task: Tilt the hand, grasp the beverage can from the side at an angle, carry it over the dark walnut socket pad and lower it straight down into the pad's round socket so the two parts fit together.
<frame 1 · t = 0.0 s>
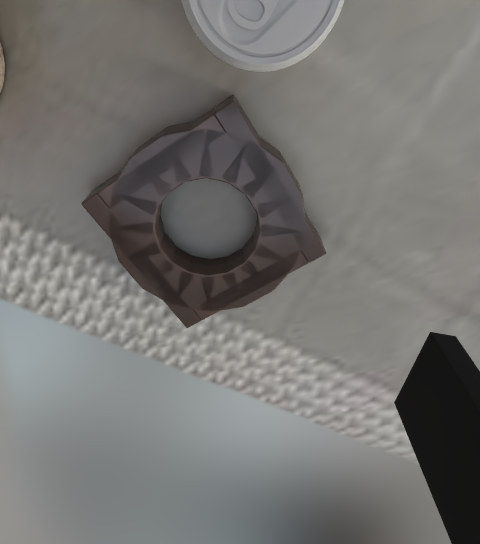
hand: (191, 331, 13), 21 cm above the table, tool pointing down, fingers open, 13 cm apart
socket pad: (209, 215, 33), on the table
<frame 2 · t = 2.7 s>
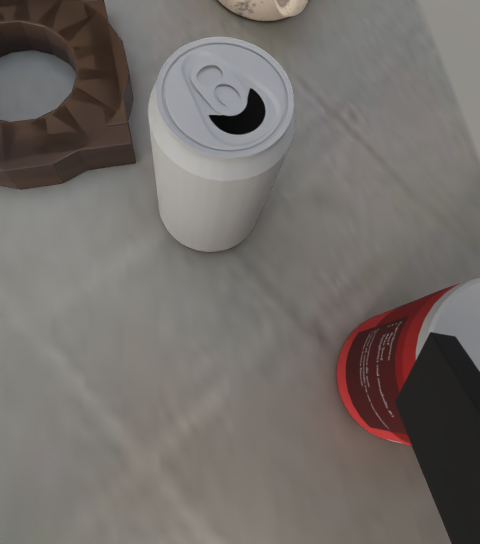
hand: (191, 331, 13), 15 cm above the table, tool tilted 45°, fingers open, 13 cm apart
beverage can: (208, 210, 30), on the table
canned food: (391, 375, 29), on the table
socket pad: (29, 95, 30), on the table
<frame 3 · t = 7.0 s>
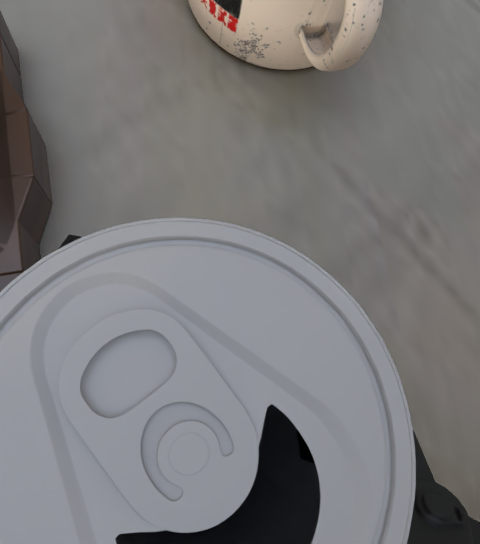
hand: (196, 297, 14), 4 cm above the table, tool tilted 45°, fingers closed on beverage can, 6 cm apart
beverage can: (174, 412, 17), on the table, touching gripper
teacup with lid: (279, 26, 22), on the table
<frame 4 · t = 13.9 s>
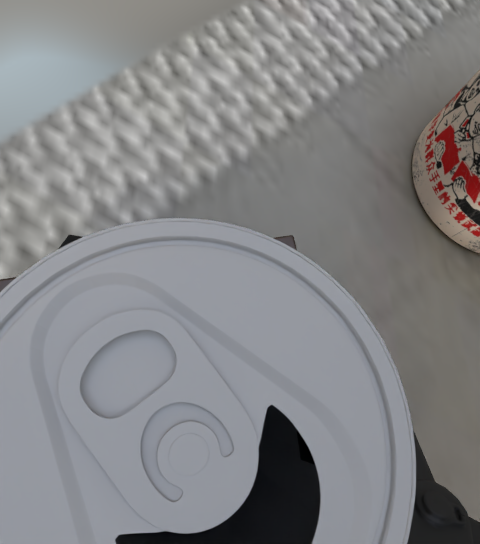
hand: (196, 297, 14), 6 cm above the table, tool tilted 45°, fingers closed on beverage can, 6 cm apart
beverage can: (174, 413, 17), point 2 cm above the table, touching gripper
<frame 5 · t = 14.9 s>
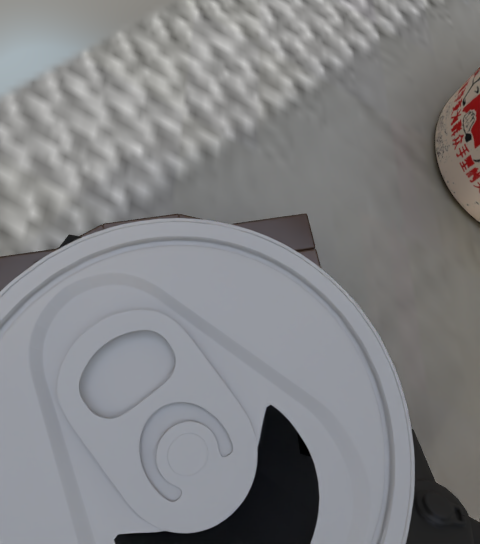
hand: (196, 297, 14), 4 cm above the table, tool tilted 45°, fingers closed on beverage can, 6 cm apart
beverage can: (174, 413, 17), resting in socket pad, touching gripper
socket pad: (172, 411, 17), on the table
when the fingers open (5 cm above the table, at t = 20.9 s): beverage can drops 1 cm, resting in socket pad.
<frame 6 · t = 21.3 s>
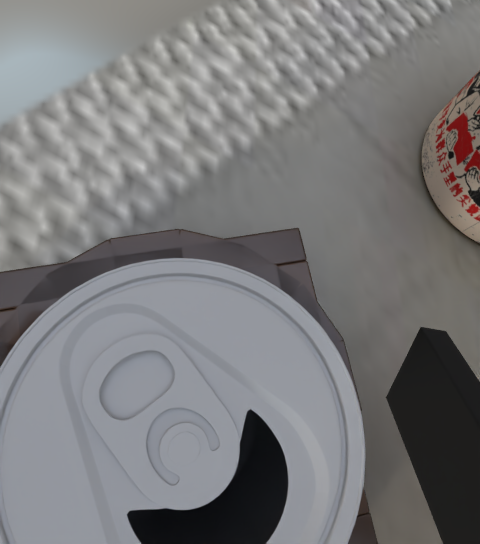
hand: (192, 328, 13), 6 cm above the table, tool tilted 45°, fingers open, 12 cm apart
beverage can: (174, 413, 18), resting in socket pad
socket pad: (174, 411, 18), on the table
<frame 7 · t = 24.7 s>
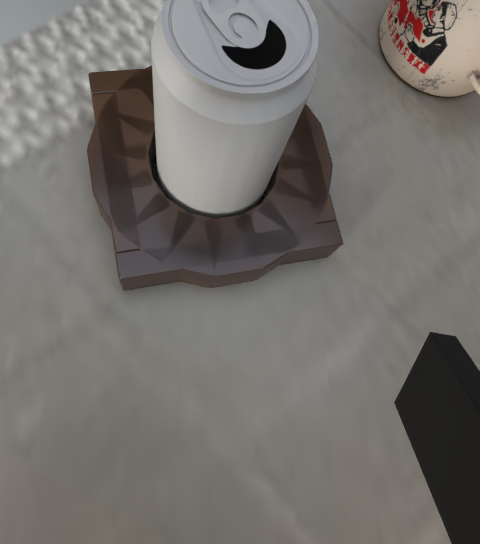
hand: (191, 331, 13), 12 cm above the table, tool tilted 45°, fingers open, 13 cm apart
beverage can: (210, 180, 27), resting in socket pad
socket pad: (210, 178, 27), on the table
teacup with lid: (438, 66, 33), on the table
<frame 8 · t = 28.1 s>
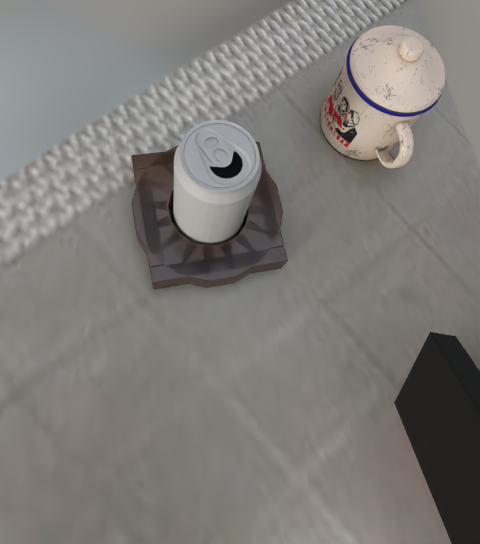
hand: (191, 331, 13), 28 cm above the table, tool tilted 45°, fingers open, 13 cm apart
beverage can: (206, 219, 43), resting in socket pad
socket pad: (206, 218, 43), on the table
teacup with lid: (361, 138, 48), on the table
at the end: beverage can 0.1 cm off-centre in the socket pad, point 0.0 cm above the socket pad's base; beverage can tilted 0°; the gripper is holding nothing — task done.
